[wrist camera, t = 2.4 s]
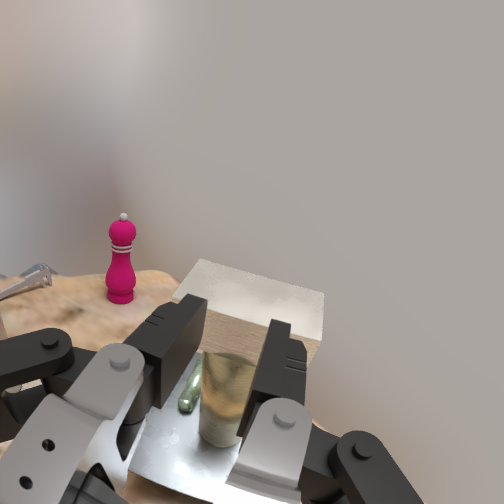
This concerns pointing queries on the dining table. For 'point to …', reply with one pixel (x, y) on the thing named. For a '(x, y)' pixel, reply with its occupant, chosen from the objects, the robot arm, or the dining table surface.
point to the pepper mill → (121, 261)
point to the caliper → (29, 281)
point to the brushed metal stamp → (220, 377)
